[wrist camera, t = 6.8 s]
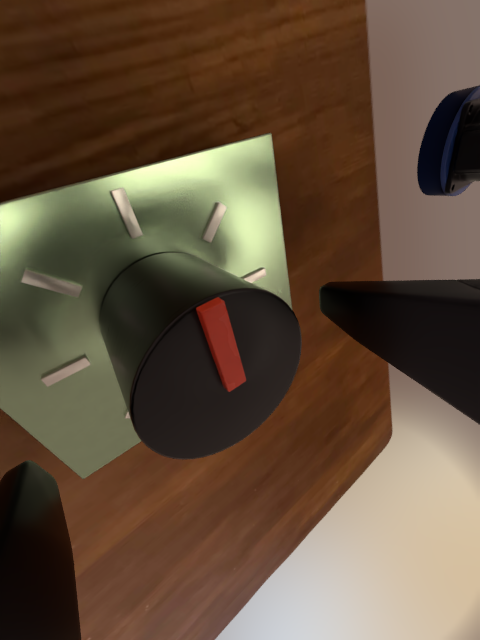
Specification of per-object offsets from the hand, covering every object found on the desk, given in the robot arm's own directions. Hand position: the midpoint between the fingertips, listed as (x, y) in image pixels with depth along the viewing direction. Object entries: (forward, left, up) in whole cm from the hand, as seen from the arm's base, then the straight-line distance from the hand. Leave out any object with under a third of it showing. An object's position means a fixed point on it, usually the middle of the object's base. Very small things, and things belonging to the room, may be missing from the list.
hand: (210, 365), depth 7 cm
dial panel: (0, 0, -7) cm, 7 cm away
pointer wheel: (0, 0, -4) cm, 4 cm away
